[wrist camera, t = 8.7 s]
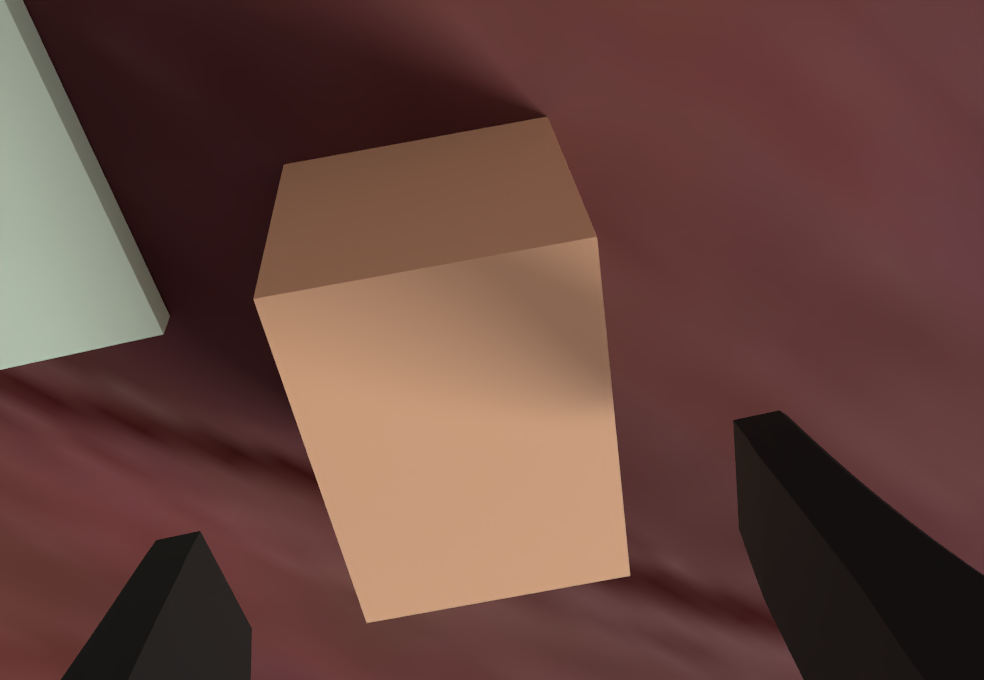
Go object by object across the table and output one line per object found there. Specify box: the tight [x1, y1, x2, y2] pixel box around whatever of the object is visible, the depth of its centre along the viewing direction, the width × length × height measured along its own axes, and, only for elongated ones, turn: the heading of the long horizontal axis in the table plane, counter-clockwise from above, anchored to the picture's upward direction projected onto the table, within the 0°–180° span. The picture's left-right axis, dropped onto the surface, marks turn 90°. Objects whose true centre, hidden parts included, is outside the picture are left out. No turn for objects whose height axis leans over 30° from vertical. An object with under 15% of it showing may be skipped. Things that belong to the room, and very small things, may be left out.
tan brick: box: [253, 117, 630, 623], centre depth 16 cm, size 4×6×4 cm
